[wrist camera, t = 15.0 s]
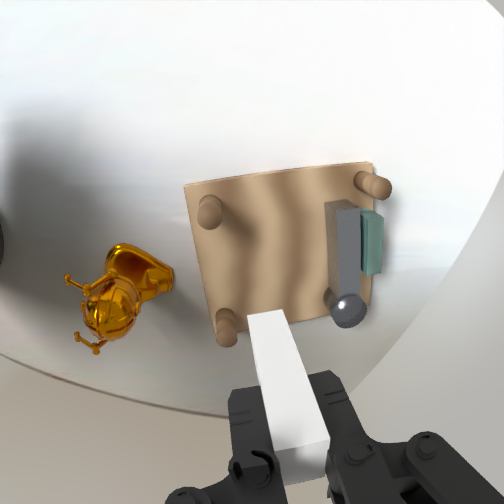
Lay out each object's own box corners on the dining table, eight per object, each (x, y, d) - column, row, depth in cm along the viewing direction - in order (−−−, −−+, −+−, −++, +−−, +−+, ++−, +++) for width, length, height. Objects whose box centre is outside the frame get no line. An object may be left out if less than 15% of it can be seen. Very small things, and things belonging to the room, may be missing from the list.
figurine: (91, 240, 35) (51, 286, 24) (174, 247, 37) (160, 299, 26) (96, 299, 38) (66, 356, 27) (172, 307, 40) (162, 370, 29)
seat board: (215, 329, 42) (216, 360, 36) (184, 184, 34) (178, 197, 28) (365, 300, 43) (384, 324, 37) (366, 161, 35) (393, 169, 30)
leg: (353, 305, 41) (365, 323, 37) (323, 312, 41) (334, 331, 37) (352, 198, 35) (368, 207, 31) (317, 203, 35) (331, 213, 31)
